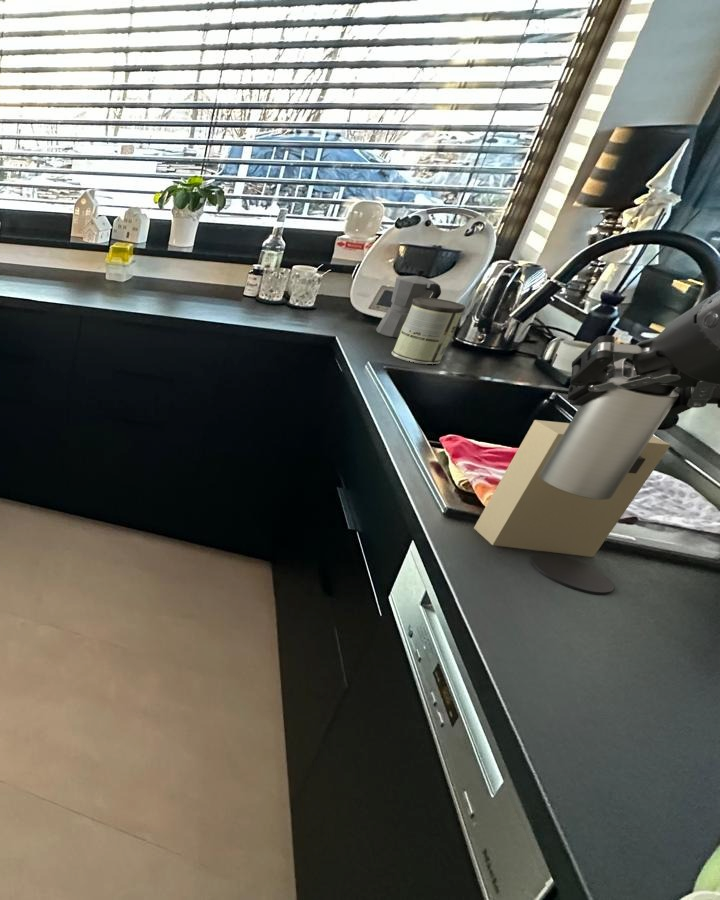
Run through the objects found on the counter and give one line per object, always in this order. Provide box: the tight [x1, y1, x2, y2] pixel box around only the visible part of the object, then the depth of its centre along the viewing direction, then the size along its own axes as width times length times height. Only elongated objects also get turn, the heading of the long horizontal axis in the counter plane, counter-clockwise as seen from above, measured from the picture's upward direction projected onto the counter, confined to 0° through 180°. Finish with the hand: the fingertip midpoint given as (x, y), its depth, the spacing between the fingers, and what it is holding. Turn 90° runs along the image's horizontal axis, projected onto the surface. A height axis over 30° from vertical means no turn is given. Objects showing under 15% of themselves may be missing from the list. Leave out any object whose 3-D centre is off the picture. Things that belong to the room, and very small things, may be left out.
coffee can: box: [391, 297, 466, 366], centre depth 153 cm, size 10×10×14 cm
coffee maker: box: [473, 419, 672, 596], centre depth 76 cm, size 12×13×18 cm
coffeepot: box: [375, 268, 442, 339], centre depth 170 cm, size 15×9×18 cm, turn 1°
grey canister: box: [540, 369, 679, 500], centre depth 66 cm, size 6×6×13 cm
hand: (614, 403), depth 66 cm, fingers closed on grey canister, 6 cm apart
